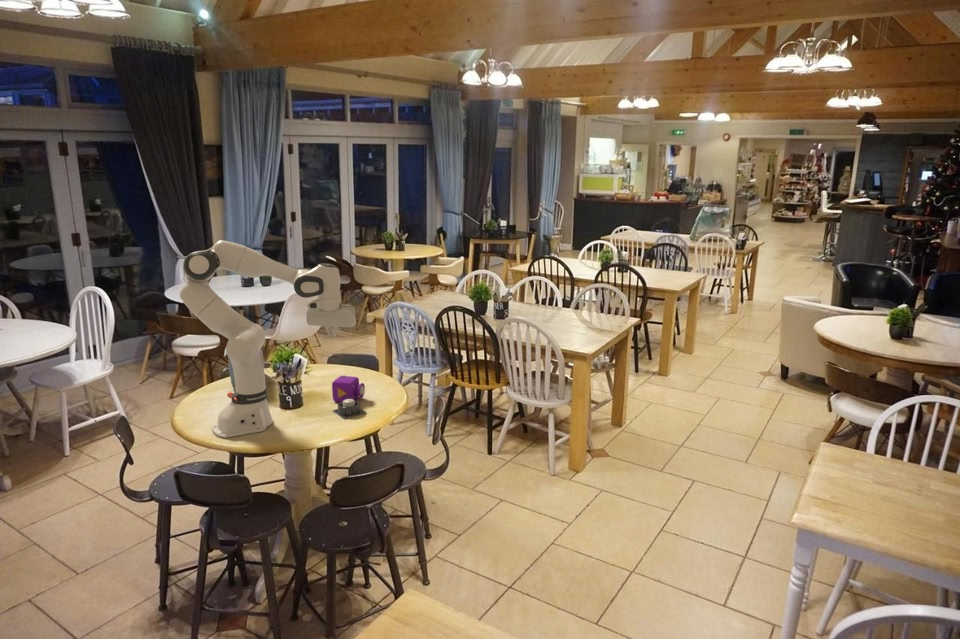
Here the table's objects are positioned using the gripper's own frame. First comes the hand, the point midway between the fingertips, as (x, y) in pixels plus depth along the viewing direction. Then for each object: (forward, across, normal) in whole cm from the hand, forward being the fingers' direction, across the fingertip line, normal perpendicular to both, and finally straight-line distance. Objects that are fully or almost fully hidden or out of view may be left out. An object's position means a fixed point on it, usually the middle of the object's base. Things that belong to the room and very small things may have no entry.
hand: (332, 336), depth 267 cm
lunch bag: (+31, +54, -22) cm, 67 cm away
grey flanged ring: (+31, -7, +4) cm, 32 cm away
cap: (+30, -7, +4) cm, 32 cm away
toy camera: (+31, -2, -10) cm, 33 cm away
